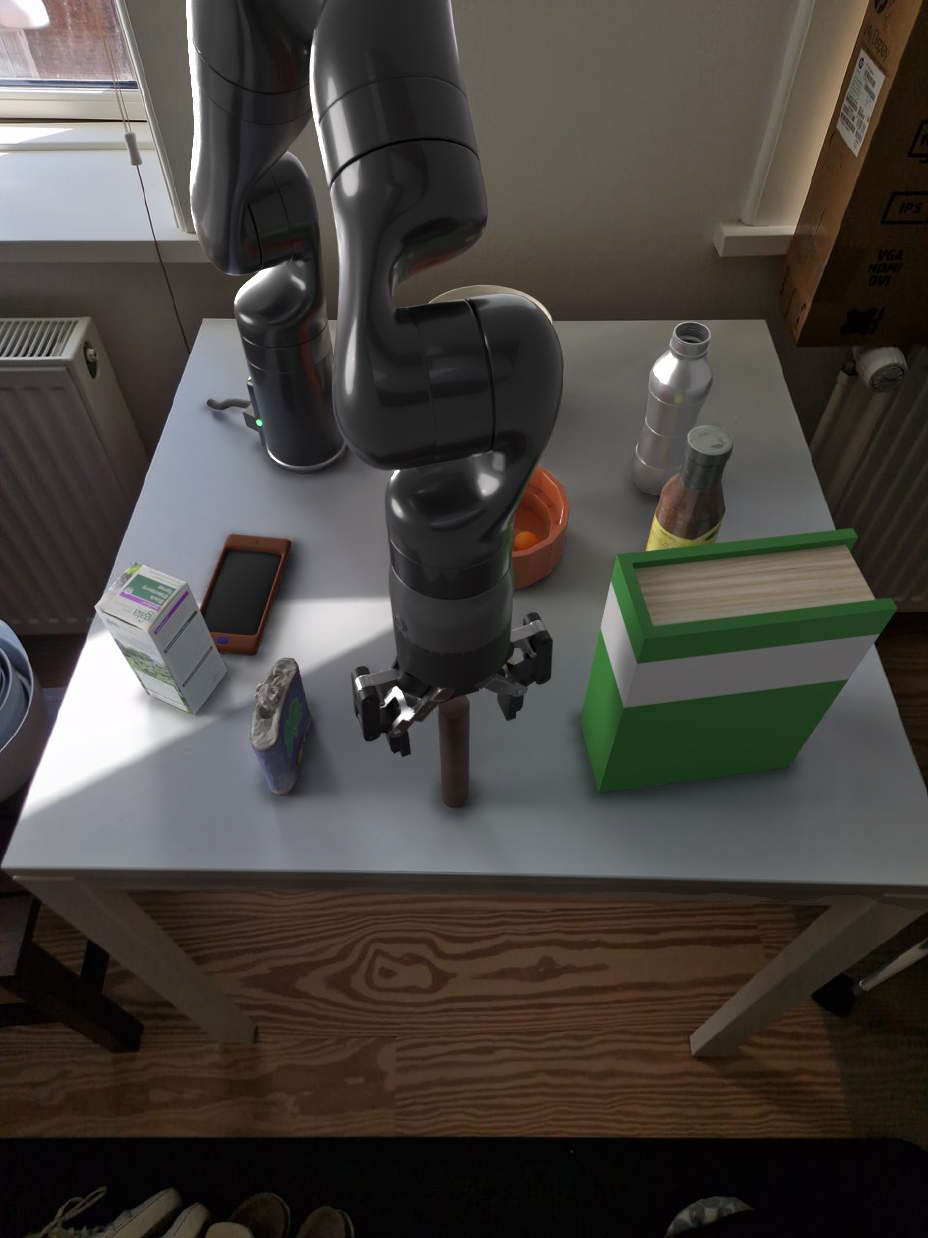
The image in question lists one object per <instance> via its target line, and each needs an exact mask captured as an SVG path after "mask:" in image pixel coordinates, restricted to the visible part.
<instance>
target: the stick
mask: <svg viewBox="0 0 928 1238" xmlns="http://www.w3.org/2000/svg"><path fill="white" fill-rule="evenodd" d="M436 709H437V726H438V745H439V760H440V761H439V765H440V785H441V798H442V801H443V803H444V805H446V806H447V807H448V808H452V809H459V808H462V807H464V806H466V804H467V803H468V802H469V799H470V749H471V748H470V746H471V745H470V740H471V739H470V738H471V737H470V736H471V735H470V734H471V731H470V729H471V702H470V699H469V697H468V695H462V696H458V697H456V698H454V699H452V700H450V701H447V702H444V703H441V704H438V706H437V707H436Z"/></svg>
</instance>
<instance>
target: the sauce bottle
mask: <svg viewBox="0 0 928 1238" xmlns="http://www.w3.org/2000/svg"><path fill="white" fill-rule="evenodd" d="M733 450H734V439H733V437H732V435H731V434H730V433H728V432H727V430H724V429H722V428H721V427H719V426H715V425H699V426H697V427H694V428H693V429H692V430H691V431H690V432H689V433H688V436H687V439H686V442H685V445H684V452H685V455H684V458H683V462H682V465H681V466H680V468H679V473H677V474H676V475H674V476H673V477H672V478H670V480H668V482H667V483H666V484H665V486H664V487H663V490H662V492H661V495H659V499H658V501H659V502H658V504H657V506H656V509H655V512H654V516H653V519H652V523H651V527H650V532H649V535H648V540H647V544H646V547H645V551H652V550H661V549H670V548H679V547H688V546H697V545H706V544H715V543H717V538H718V535H719V531H720V529H721V526H722V523H723V521H724V517H725V514H726V504H725V497H724V490H723V474H724V472H725V469H726V466H727V462H728V461H729V460H730V459H731V457H732V453H733Z"/></svg>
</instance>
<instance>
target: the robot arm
mask: <svg viewBox="0 0 928 1238" xmlns="http://www.w3.org/2000/svg"><path fill="white" fill-rule="evenodd" d="M186 20H187V21H186V22H187V40H188V41H187V42H188V56H189V57H188V58H189V67H190V76H191V88H192V98H193V99H192V100H193V116H194V117H193V119H194V135H193V146H192V156H191V157H192V158H191V167H190V168H191V169H190V181H189V197H190V201H189V202H190V210H191V216H192V221H193V227H194V229H195V233H196V237H197V240H198V243H199V245H200V247H201V249H202V251H203V253H204V255H205V256H206V258H207V259H208V260H209V262H210V263H211V265H213V266H214V267H215V268H216V269H217V270H218V271H220V272H221V273H223V274H225V275H229V276H234V277H235V276H236V277H237V276H245V275H246V276H247V275H251V274H255V275H254V276H253V277H251V278H250V279H249V280H248V281H247V282H245V284H243V285H242V287H241V288H239V290H238V292H237V294H236V296H235V297H234V302H233V314H234V317H235V323H236V327H237V329H238V334H239V338H240V341H241V345H242V350H243V354H244V357H245V361H246V365H247V369H248V373H249V378H247V380H246V387H247V391H248V396H249V400H247V399H241V398H226V399H224V400H222V401H216V400H215V399H212V398H209V399H207V401H206V406H207V407H209V408H211V409H213V410H216V411H224V410H227V409H229V408H233V407H234V408H239V409H243V410H242V414H243V419H244V423H245V426H246V427H248V428H249V429H251V430H253V431H256V432H257V433H258V435H259V438H260V442H261V446H262V447H263V448H265V449H266V450H267V453H268V456H269V458H270V460H271V461H272V463H273V464H275V465H276V466H277V467H278V468H280V469H282V470H284V471H287V472H290V473H295V474H310V473H316V472H319V471H323V470H325V469H328V468H330V467H332V466H333V465H334V464H336V463H338V461H339V460H341V459H342V457H344V454H345V453H346V450H347V447H348V448H349V449H350V450H351V451H352V452H353V454H354V455H355V456H356V457H357V458H359V459H360V460H361V461H362V462H363V463H364V464H366V465H368V466H369V467H371V468H373V469H375V470H379V471H385V472H388V471H389V472H392V471H393V472H392V473H391V476H390V477H389V479H388V481H387V484H386V488H385V491H384V502H383V503H384V504H383V505H384V519H385V526H386V534H387V540H388V541H387V542H388V550H389V567H388V592H389V599H390V607H391V617H392V626H393V634H394V643H395V651H396V657H395V659H394V661H393V662H392V664H391V668H388V669H385V670H380V671H378V672H374V673H371V671H370V669H369V667H368V666H365V665H360V666H356V667H355V668H354V669H352V671H351V672H350V677H351V688H352V689H351V690H352V700H353V710H354V714H355V717H356V719H357V720H358V723H359V726H360V729H361V734H362V738H363V740H364V741H365V742H368V743H369V742H370V743H371V742H374V741H377V740H378V739H379V738H380V737H381V735H382V734H383V735H385V738H386V741H387V743H388V744H387V745H388V747H389V749H390V752H392V754H397V753H400V756H401V758H405V757H408V756H410V755H412V749H411V742H410V741H411V740H410V733H409V729H410V728H411V726H412V725H414V723H423V722H424V721H425V720H426V719H427V718H428V717H429V715H430V714H431V713H432V712H434V710H435V709H437V706H438V704H441V703H444V702H447V701H450V700H452V699H454V698H456V697H458V696H462V695H466V696H468V695H472V694H475V693H478V692H480V690H483V689H485V690H488V691H490V692H492V693H495V694H496V700H497V703H498V706H499V708H500V710H501V712H502V714H503V717H504V719H505V720H506V722H510V721H512V720H513V721H514V720H516V719H517V716H518V715H517V714H518V712H520V711H521V710H522V709H523V708H524V701H525V694H526V693H528V691H529V686H530V685H531V684H534V683H535V684H536V685H538V686H541V685H545V684H547V683H548V682H549V681H550V680H551V679H552V670H553V669H552V668H553V647H554V640H553V638H552V636H551V634H550V632H549V630H548V629H547V627H546V625H545V623H544V621H543V619H542V617H541V616H540V613H539V612H537V611H532V612H529V613H527V614H526V615H525V616H524V617H523V619H522V626H521V627H517V628H514V629H512V623H513V607H514V598H515V596H516V589H515V583H514V567H513V561H512V544H513V529H514V520H515V512H516V510H517V508H518V506H519V504H520V502H521V499H522V497H523V495H524V492H525V490H526V488H527V486H528V484H529V481H530V479H531V477H532V475H533V473H534V471H535V469H536V467H537V465H538V466H539V462H540V460H541V458H542V456H543V455H544V453H545V451H546V448H547V446H548V444H549V442H550V440H551V437H552V434H553V432H554V429H555V427H556V425H557V421H558V417H559V413H560V409H561V405H562V400H563V399H562V398H563V393H564V382H565V367H564V366H565V363H564V355H563V350H562V345H561V341H560V337H559V336H558V333H557V331H556V329H555V327H553V325H554V324H553V325H552V323H551V321H550V320H549V318H548V316H547V315H546V314H545V313H544V312H543V311H542V309H541V308H540V307H539V306H538V305H537V304H535V303H534V302H533V301H531V300H529V299H528V298H526V297H524V296H521V295H517V294H513V293H494V294H486V295H479V296H473V297H467V298H464V299H456V300H449V301H442V302H435V303H429V302H428V303H423V304H422V303H421V304H415V305H409V306H406V307H405V306H396V305H395V303H394V296H395V295H396V292H397V291H398V290H399V288H400V287H402V285H404V283H406V282H407V281H409V280H411V279H413V278H414V277H417V276H418V275H421V274H423V273H426V272H427V271H430V270H432V269H435V268H437V267H439V266H442V265H445V264H447V263H449V262H450V261H452V260H455V259H457V258H458V257H460V256H462V255H464V254H465V253H467V252H468V251H470V250H471V249H472V248H473V247H474V246H475V245H476V244H477V243H478V242H479V241H480V239H481V238H482V237H483V234H484V232H485V230H486V228H487V224H488V217H489V207H488V206H489V205H488V197H487V191H486V185H485V179H484V175H483V170H482V166H481V159H480V154H479V149H478V144H477V139H476V135H475V130H474V126H473V125H474V124H473V120H472V114H471V111H470V106H469V105H470V104H469V100H468V96H467V90H466V86H465V81H464V77H463V71H462V67H461V62H460V61H461V60H460V56H459V48H458V44H457V37H456V32H455V25H454V17H453V9H452V1H451V0H186ZM312 118H313V120H314V125H315V126H314V127H315V130H316V131H315V132H316V135H317V139H318V140H317V141H318V145H319V150H320V156H321V160H322V164H323V169H324V174H325V179H326V183H327V188H328V193H329V194H328V195H329V196H330V202H331V208H332V214H333V219H334V226H335V234H336V244H337V256H338V295H337V296H338V297H337V298H338V299H337V300H338V301H337V318H336V326H335V327H336V329H335V337H334V348H333V344H332V337H331V331H330V330H331V329H330V324H329V317H328V310H327V300H328V299H327V298H328V297H327V286H326V278H325V268H324V258H323V257H324V256H323V246H322V233H321V223H320V216H319V209H318V205H317V200H316V195H315V191H314V188H313V184H312V182H311V179H310V176H309V174H308V172H307V170H306V168H305V167H304V165H303V164H302V162H301V161H300V160H299V158H298V157H297V156H296V155H295V154H293V153H292V152H291V151H288V150H289V149H290V148H291V147H292V146H293V145H294V144H295V143H296V141H297V140H298V139H299V138H300V137H301V135H302V134H303V132H304V130H306V128H307V127H308V126H309V123H310V122H311V121H312ZM515 649H519V650H520V651H521V652H522V658H523V660H521V661H519V662H517V663H516V662H515V661H514V660H512V659H511V658H513V655H514V653H515ZM390 690H391V692H390V693H389V691H390ZM388 693H389V694H388Z"/></svg>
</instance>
